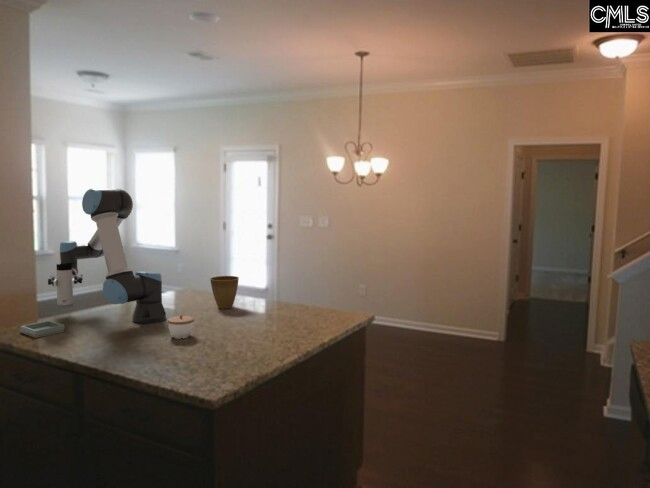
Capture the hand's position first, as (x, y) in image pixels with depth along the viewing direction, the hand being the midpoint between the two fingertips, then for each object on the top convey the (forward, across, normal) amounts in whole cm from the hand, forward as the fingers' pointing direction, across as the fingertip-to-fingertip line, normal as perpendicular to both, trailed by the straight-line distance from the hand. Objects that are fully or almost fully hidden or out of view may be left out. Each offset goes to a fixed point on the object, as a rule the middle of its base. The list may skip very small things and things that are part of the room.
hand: (63, 284), depth 214 cm
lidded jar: (+31, -46, -20) cm, 59 cm away
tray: (+3, +8, -20) cm, 22 cm away
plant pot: (-16, -74, -20) cm, 79 cm away
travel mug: (-5, 0, -11) cm, 12 cm away
